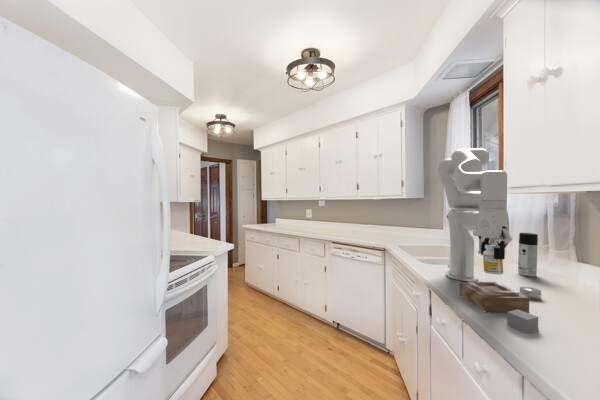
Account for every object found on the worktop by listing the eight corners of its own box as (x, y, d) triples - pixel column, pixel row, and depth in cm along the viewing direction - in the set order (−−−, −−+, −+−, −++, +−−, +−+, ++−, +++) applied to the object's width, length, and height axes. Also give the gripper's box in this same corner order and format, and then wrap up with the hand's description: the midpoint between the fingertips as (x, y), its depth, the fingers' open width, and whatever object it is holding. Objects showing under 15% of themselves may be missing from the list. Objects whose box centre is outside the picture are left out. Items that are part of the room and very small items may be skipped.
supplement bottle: (494, 271, 91) (493, 244, 91) (507, 274, 85) (505, 245, 86) (480, 271, 90) (478, 244, 91) (492, 274, 85) (490, 245, 86)
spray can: (518, 271, 125) (519, 232, 125) (537, 274, 120) (538, 233, 120) (517, 274, 120) (518, 233, 120) (536, 278, 116) (537, 235, 115)
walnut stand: (459, 295, 96) (459, 279, 96) (496, 295, 96) (496, 280, 96) (485, 312, 82) (486, 294, 82) (529, 312, 82) (529, 294, 82)
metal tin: (515, 294, 98) (515, 286, 98) (530, 294, 98) (531, 286, 98) (529, 300, 92) (529, 292, 92) (545, 300, 92) (546, 292, 92)
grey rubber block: (507, 325, 74) (507, 311, 74) (517, 322, 76) (518, 309, 76) (527, 334, 70) (527, 319, 70) (538, 330, 71) (538, 316, 71)
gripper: (466, 204, 97) (465, 251, 97) (501, 206, 80) (500, 263, 80) (486, 204, 97) (485, 251, 97) (525, 206, 79) (524, 263, 80)
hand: (492, 256), depth 88 cm, fingers closed on supplement bottle, 5 cm apart
